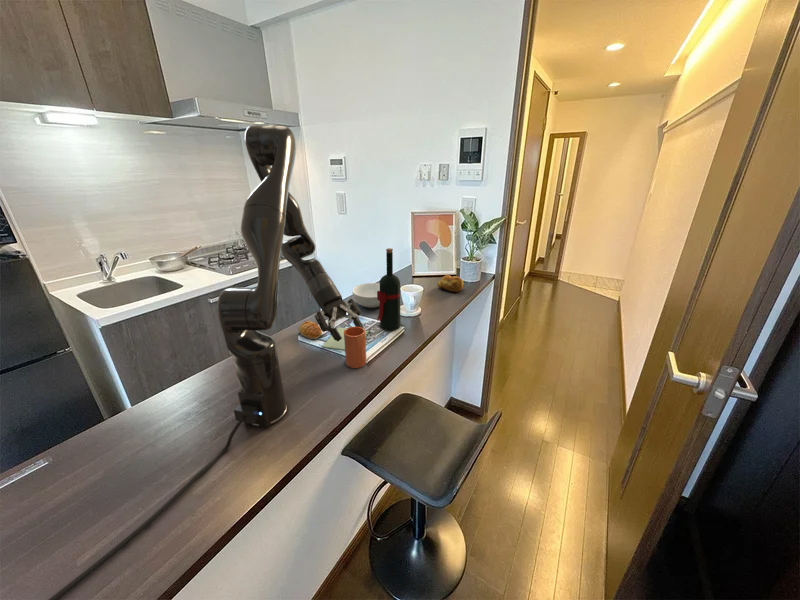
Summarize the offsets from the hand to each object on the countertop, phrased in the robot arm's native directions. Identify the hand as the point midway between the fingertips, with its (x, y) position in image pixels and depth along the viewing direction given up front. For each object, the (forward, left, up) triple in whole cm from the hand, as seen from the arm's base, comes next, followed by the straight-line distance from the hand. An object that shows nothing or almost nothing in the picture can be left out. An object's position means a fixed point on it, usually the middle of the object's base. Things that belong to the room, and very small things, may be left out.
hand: (350, 334), depth 99 cm
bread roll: (+69, -26, -9) cm, 74 cm away
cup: (-1, -2, -9) cm, 9 cm away
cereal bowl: (+43, +6, -9) cm, 45 cm away
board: (+12, +6, -9) cm, 17 cm away
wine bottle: (+24, -6, -9) cm, 27 cm away
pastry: (+13, +21, -9) cm, 26 cm away
